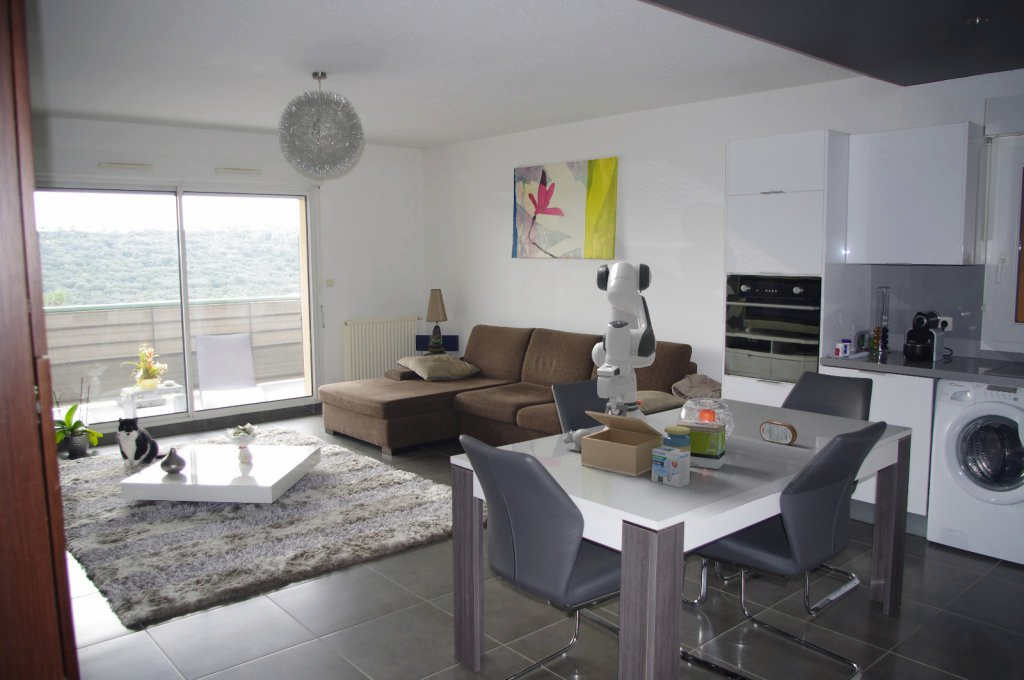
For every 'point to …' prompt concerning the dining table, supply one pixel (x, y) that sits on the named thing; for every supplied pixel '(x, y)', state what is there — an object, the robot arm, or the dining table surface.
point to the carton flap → (623, 421)
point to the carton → (619, 451)
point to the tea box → (706, 443)
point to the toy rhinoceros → (575, 438)
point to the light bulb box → (671, 466)
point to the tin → (778, 432)
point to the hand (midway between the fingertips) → (617, 407)
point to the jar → (677, 437)
